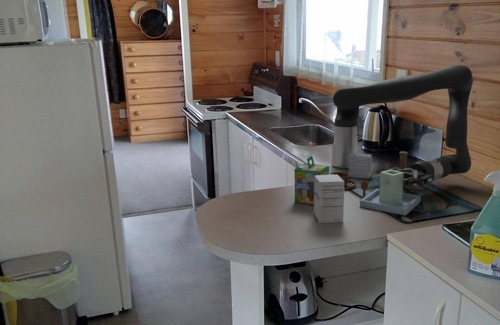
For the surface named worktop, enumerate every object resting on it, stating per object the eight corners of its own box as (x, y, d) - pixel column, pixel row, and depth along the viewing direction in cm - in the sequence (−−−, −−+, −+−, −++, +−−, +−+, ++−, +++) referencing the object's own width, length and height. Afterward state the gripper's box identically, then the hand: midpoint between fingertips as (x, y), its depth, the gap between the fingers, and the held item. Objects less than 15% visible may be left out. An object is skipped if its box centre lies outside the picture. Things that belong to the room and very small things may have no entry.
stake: (397, 187, 168) (399, 152, 165) (399, 185, 170) (401, 151, 167) (403, 188, 167) (406, 153, 164) (406, 186, 169) (408, 152, 166)
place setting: (361, 182, 177) (362, 167, 176) (370, 199, 158) (371, 183, 156) (314, 182, 178) (314, 167, 177) (317, 199, 159) (318, 182, 158)
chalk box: (319, 206, 150) (320, 161, 147) (293, 202, 155) (293, 158, 151) (329, 198, 158) (330, 155, 154) (304, 194, 163) (305, 152, 159)
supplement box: (313, 214, 143) (313, 174, 140) (337, 213, 144) (338, 173, 141) (318, 223, 136) (319, 181, 133) (343, 222, 137) (345, 180, 134)
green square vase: (376, 202, 151) (378, 172, 149) (389, 198, 154) (390, 169, 152) (389, 206, 147) (391, 176, 145) (401, 202, 150) (403, 172, 148)
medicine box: (371, 176, 183) (372, 154, 181) (369, 179, 179) (370, 157, 177) (351, 174, 186) (351, 153, 184) (348, 177, 182) (349, 155, 180)
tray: (359, 206, 150) (360, 200, 149) (376, 194, 161) (377, 188, 160) (405, 215, 141) (406, 208, 141) (420, 202, 153) (420, 195, 152)
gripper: (409, 156, 163) (377, 164, 155) (445, 165, 152) (413, 173, 143) (407, 177, 165) (376, 185, 157) (443, 187, 154) (411, 196, 145)
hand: (393, 179), depth 150 cm, fingers open, 8 cm apart
